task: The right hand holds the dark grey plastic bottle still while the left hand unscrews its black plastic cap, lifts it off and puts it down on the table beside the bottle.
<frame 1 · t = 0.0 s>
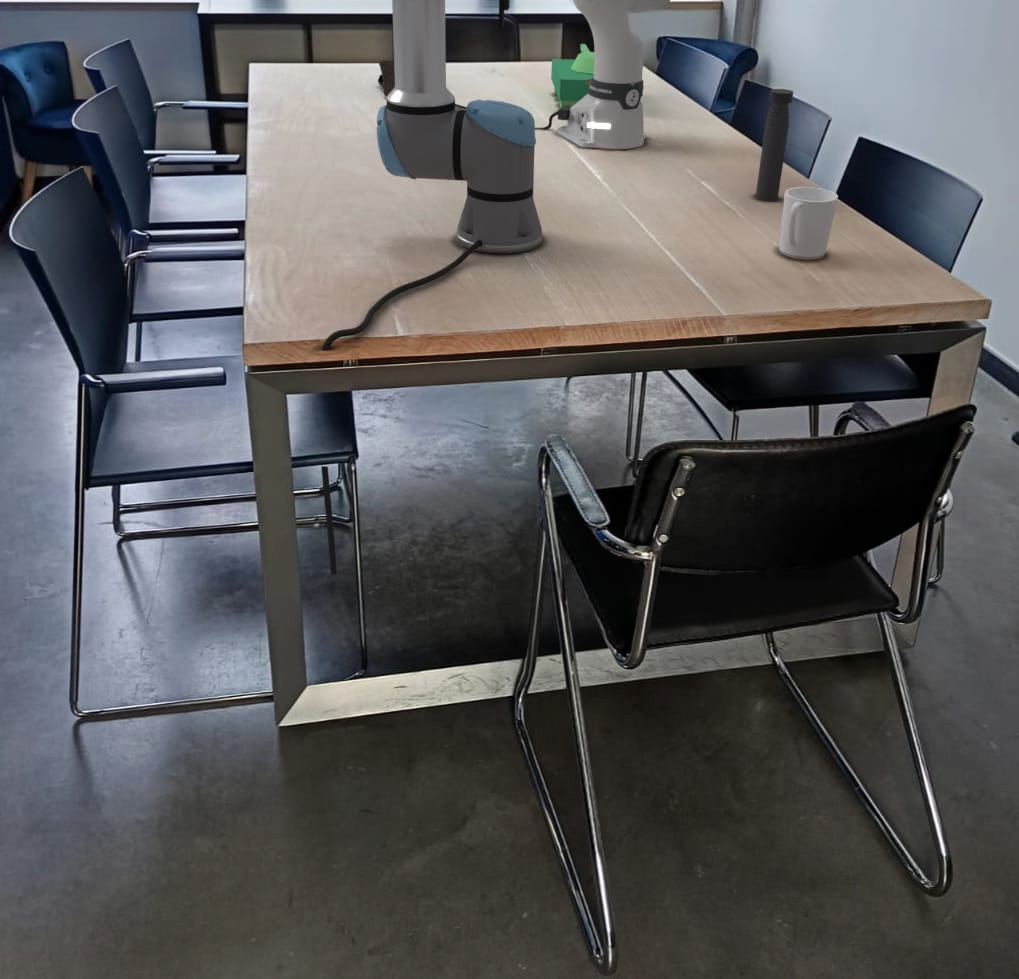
left hand: (468, 26, 224), 28 cm above the table, tool pointing down, fingers open, 13 cm apart
cap: (781, 92, 211), point 20 cm above the table, screwed on, not yet turned
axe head: (403, 91, 300), on the table
mug: (798, 254, 193), on the table
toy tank: (586, 100, 295), on the table
bottle: (766, 197, 222), on the table
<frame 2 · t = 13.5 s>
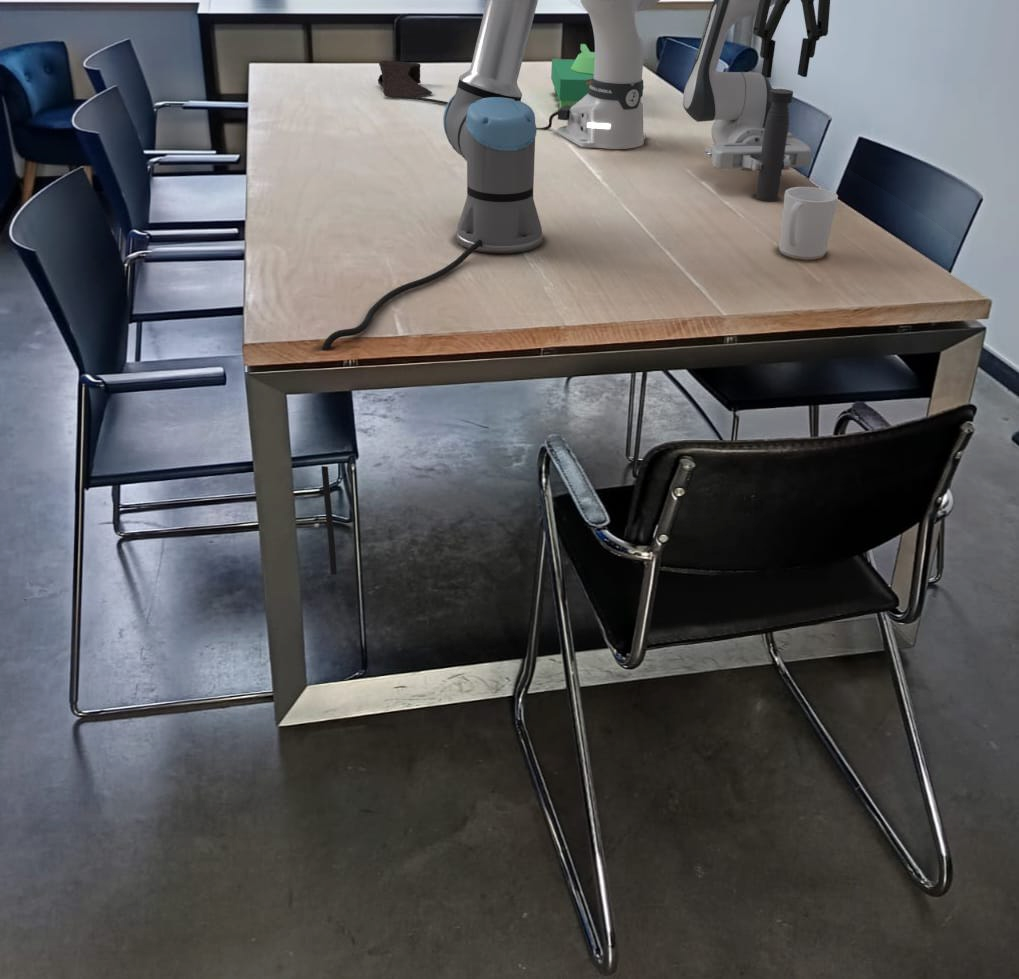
left hand: (784, 75, 209), 24 cm above the table, tool pointing down, fingers open, 7 cm apart
right hand: (773, 166, 217), 7 cm above the table, tool horizontal, fingers closed on bottle, 4 cm apart
bottle: (766, 197, 222), on the table, touching right hand
everything else where it was.
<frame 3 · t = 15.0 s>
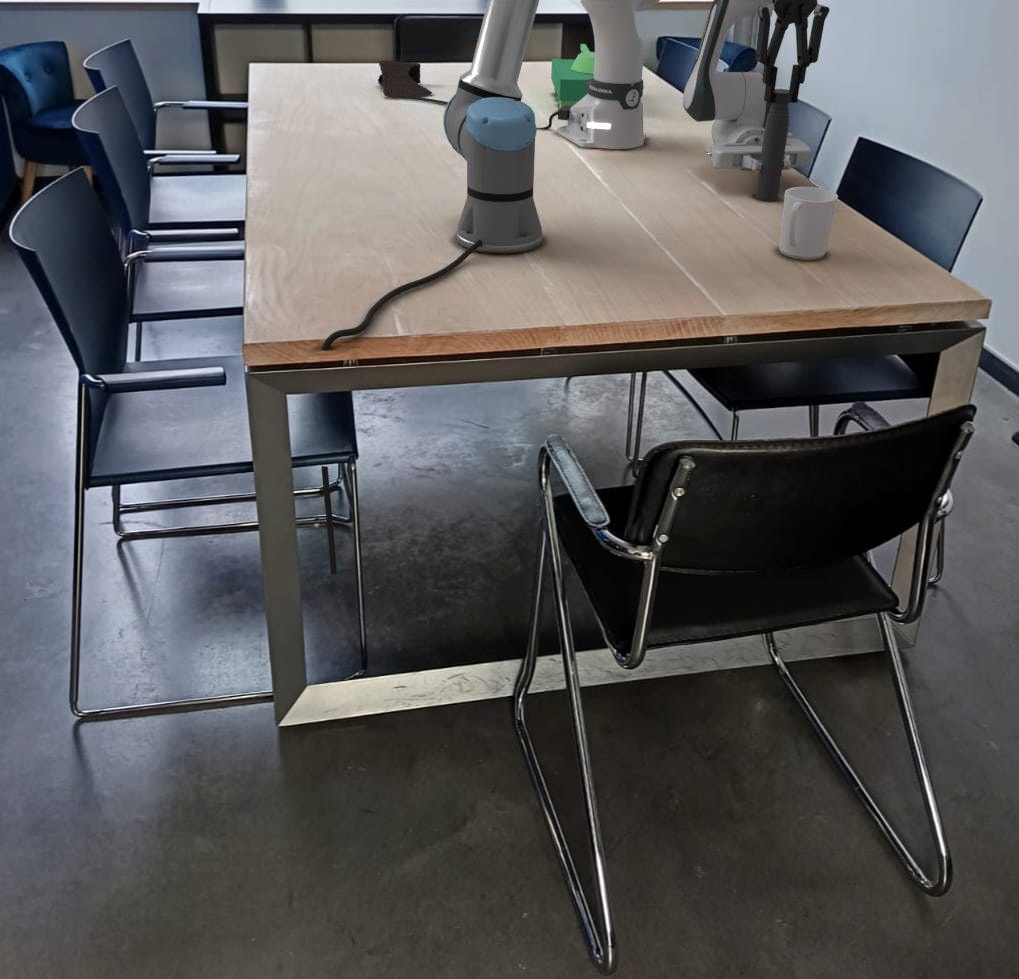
left hand: (780, 101, 212), 19 cm above the table, tool pointing down, fingers closed on cap, 4 cm apart
right hand: (773, 166, 217), 7 cm above the table, tool horizontal, fingers closed on bottle, 4 cm apart
cap: (781, 92, 211), point 20 cm above the table, screwed on, not yet turned, touching left hand
bottle: (766, 197, 222), on the table, touching right hand
everything else where it was.
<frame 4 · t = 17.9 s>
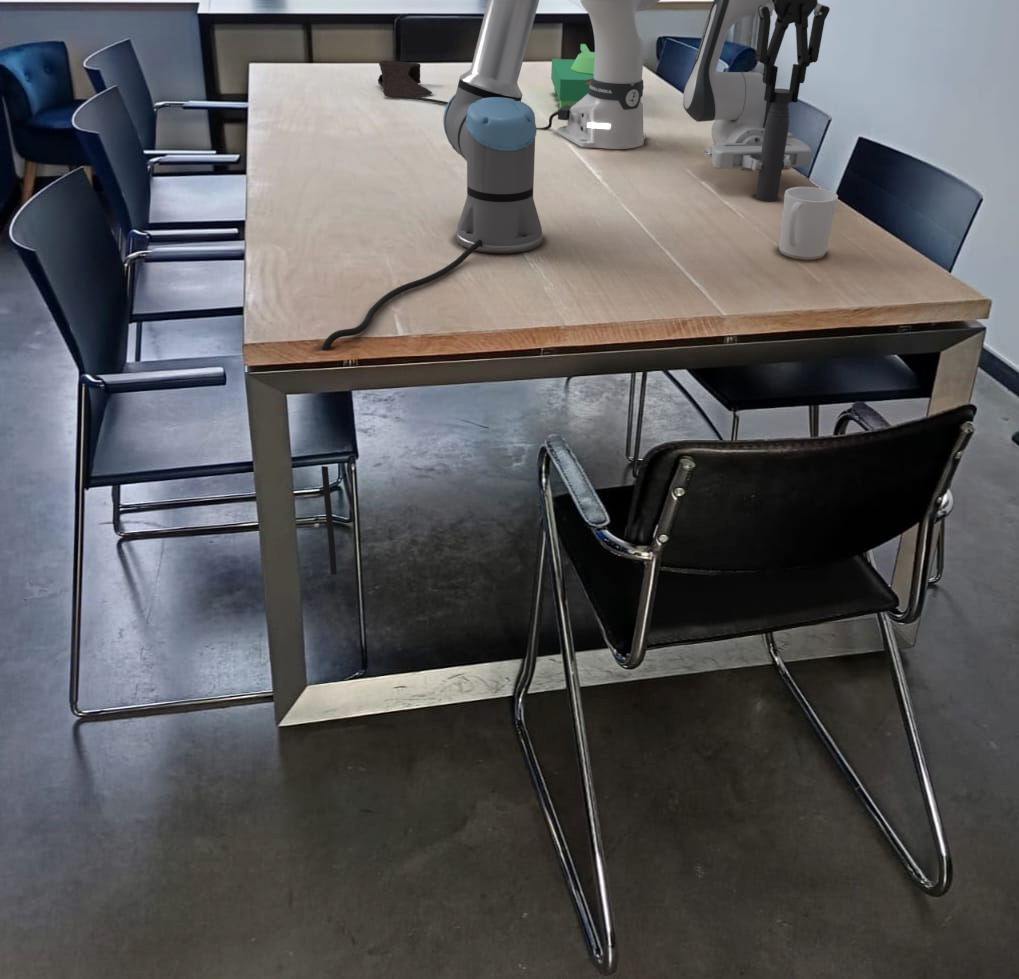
left hand: (780, 100, 212), 19 cm above the table, tool pointing down, fingers closed on cap, 4 cm apart
right hand: (773, 166, 217), 7 cm above the table, tool horizontal, fingers closed on bottle, 4 cm apart
cap: (781, 92, 211), point 21 cm above the table, turned 78° so far, risen 0.1 cm, still on its thread, touching left hand
bottle: (766, 197, 222), on the table, touching right hand
everything else where it was.
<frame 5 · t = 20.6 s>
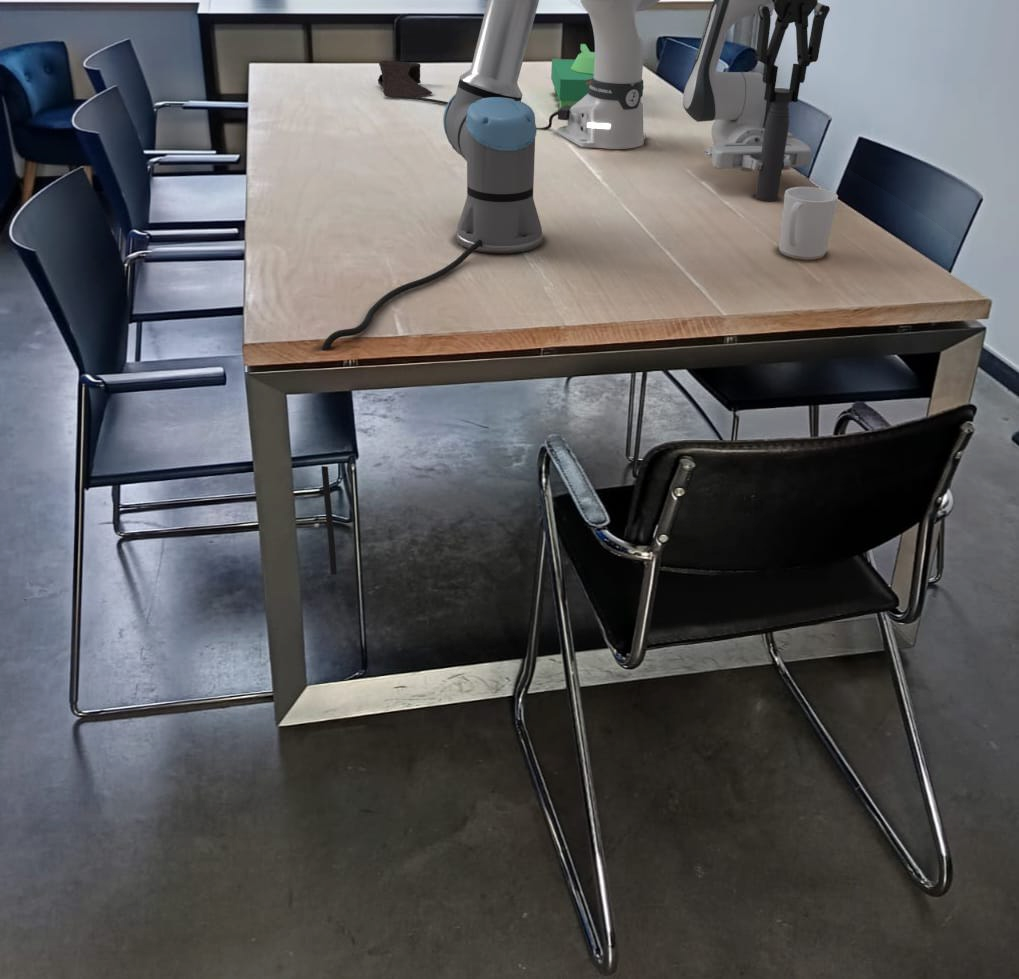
left hand: (780, 100, 212), 19 cm above the table, tool pointing down, fingers closed on cap, 4 cm apart
right hand: (773, 166, 217), 7 cm above the table, tool horizontal, fingers closed on bottle, 4 cm apart
cap: (781, 92, 211), point 21 cm above the table, turned 156° so far, risen 0.2 cm, still on its thread, touching left hand
bottle: (766, 197, 222), on the table, touching right hand
everything else where it was.
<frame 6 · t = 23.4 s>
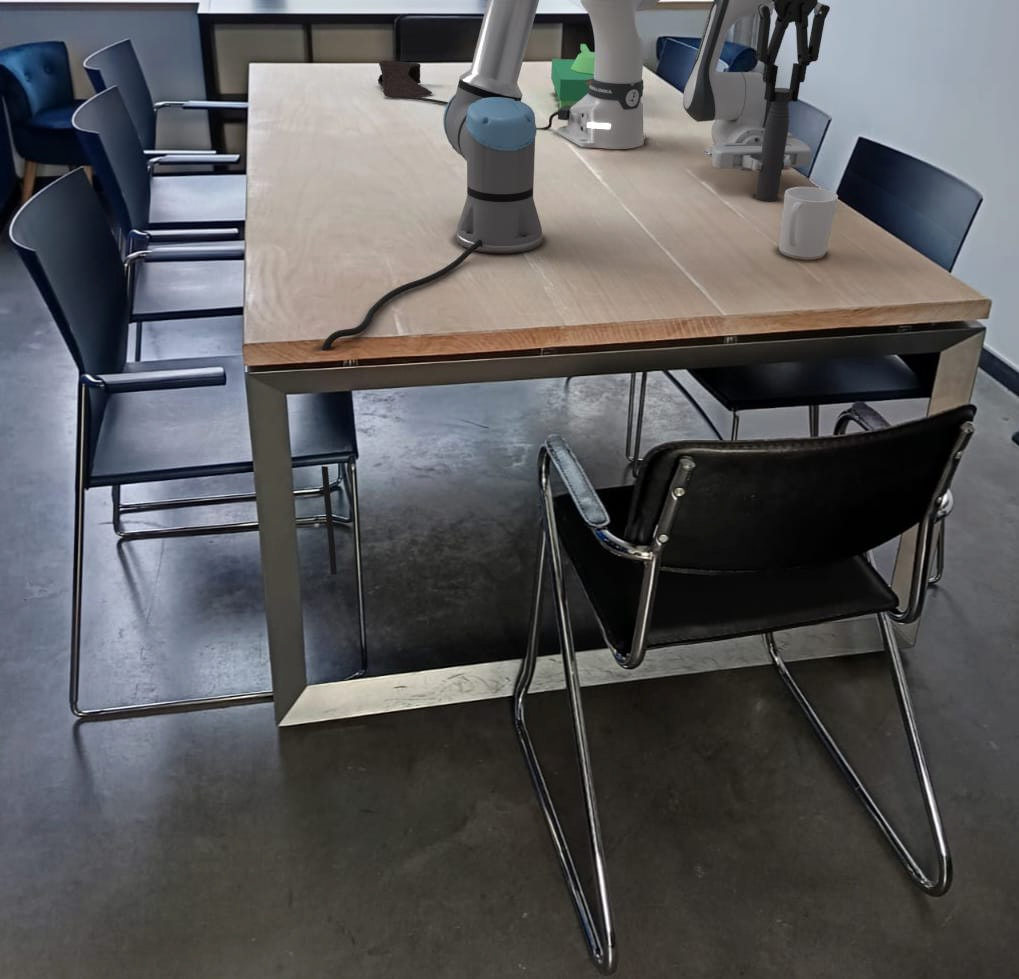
left hand: (780, 99, 211), 19 cm above the table, tool pointing down, fingers closed on cap, 4 cm apart
right hand: (773, 166, 217), 7 cm above the table, tool horizontal, fingers closed on bottle, 4 cm apart
cap: (781, 91, 211), point 21 cm above the table, turned 235° so far, risen 0.2 cm, still on its thread, touching left hand
bottle: (766, 197, 222), on the table, touching right hand
everything else where it was.
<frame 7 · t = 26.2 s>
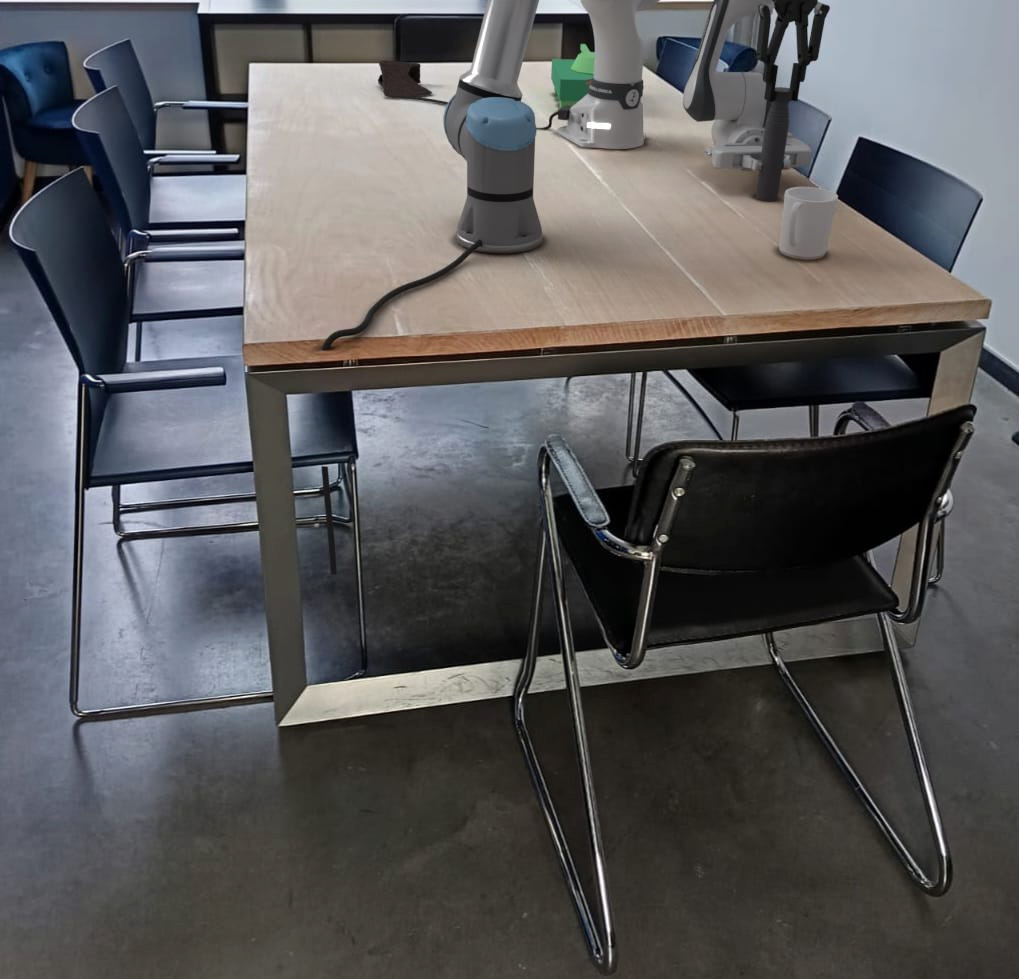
left hand: (780, 99, 211), 19 cm above the table, tool pointing down, fingers closed on cap, 4 cm apart
right hand: (773, 166, 217), 7 cm above the table, tool horizontal, fingers closed on bottle, 4 cm apart
cap: (781, 91, 211), point 21 cm above the table, turned 313° so far, risen 0.3 cm, still on its thread, touching left hand
bottle: (766, 197, 222), on the table, touching right hand
everything else where it was.
when the left hand's fingers open (1 cm above the table, at t = 32.1 s): cap drops 1 cm, point 2 cm above the table.
when the right hand's fingers open (7 cm above the table, at t = 33.3 s): bottle stays where it is, on the table.
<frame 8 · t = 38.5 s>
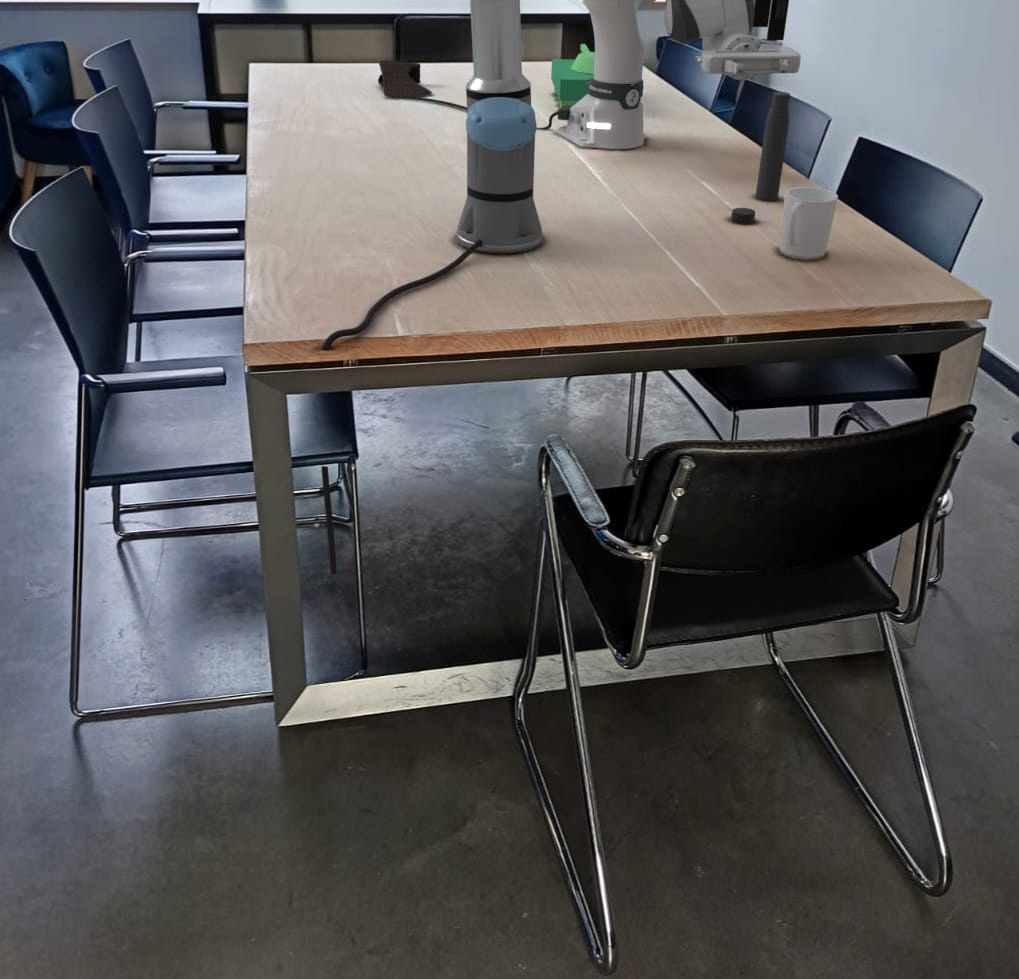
left hand: (767, 33, 191), 33 cm above the table, tool pointing down, fingers open, 13 cm apart
right hand: (762, 69, 220), 23 cm above the table, tool horizontal, fingers open, 8 cm apart
cap: (743, 212, 208), point 2 cm above the table, off its thread
bottle: (766, 197, 222), on the table
everything else where it was.
at the end: cap came off its thread; cap point 1.5 cm above the table; the left hand is holding nothing; the right hand is holding nothing; bottle tilted 0°; bottle moved 0.0 cm from its start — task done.
